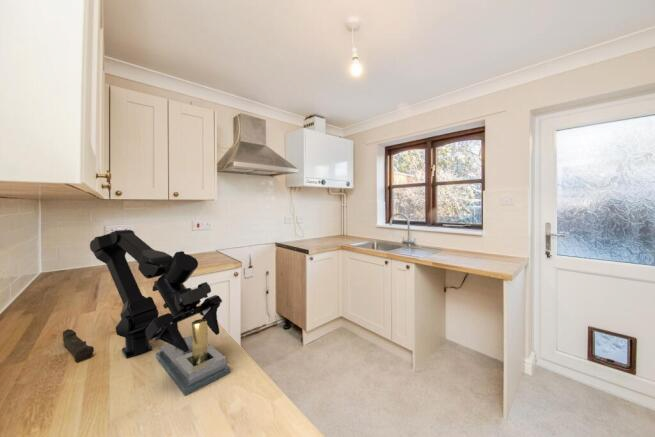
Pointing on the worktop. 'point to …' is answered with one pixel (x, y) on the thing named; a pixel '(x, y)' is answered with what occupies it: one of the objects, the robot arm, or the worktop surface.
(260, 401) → the worktop surface
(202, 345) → the pin
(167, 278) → the robot arm
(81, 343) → the hand tool
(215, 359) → the tiered gray console
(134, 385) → the worktop surface
